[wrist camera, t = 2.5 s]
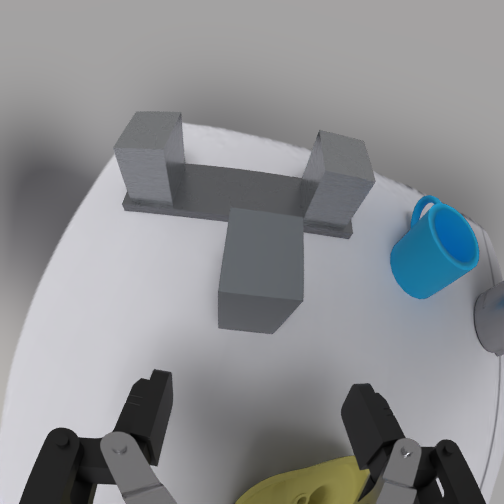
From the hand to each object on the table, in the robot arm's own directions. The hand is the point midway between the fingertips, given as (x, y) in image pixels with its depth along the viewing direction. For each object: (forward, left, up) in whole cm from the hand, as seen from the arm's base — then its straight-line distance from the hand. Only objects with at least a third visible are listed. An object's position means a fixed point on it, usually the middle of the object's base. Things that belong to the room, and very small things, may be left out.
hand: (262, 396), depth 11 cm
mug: (-3, -26, -13) cm, 29 cm away
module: (+6, -6, -13) cm, 15 cm away
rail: (+16, -13, -13) cm, 24 cm away
